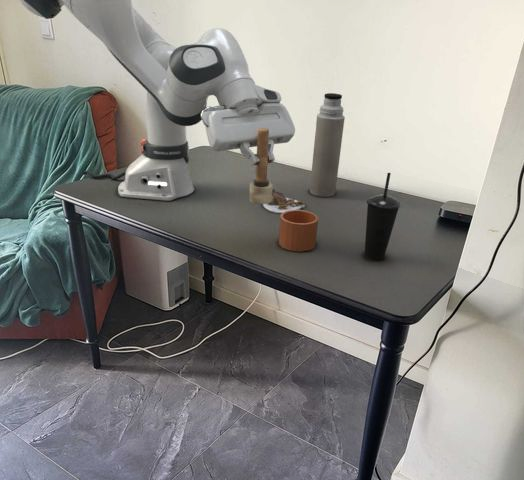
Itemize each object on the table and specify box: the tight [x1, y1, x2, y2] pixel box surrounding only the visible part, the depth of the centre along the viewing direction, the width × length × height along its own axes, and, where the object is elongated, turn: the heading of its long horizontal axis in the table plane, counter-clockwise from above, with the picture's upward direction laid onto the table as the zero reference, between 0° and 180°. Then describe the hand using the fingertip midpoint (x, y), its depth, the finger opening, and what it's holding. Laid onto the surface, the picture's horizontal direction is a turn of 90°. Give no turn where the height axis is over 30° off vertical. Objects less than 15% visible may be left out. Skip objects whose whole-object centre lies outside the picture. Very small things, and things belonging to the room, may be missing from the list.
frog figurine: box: [262, 188, 306, 214], centre depth 149 cm, size 12×12×4 cm
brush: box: [249, 128, 273, 205], centre depth 112 cm, size 5×5×15 cm
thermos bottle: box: [309, 92, 346, 198], centre depth 153 cm, size 8×8×28 cm
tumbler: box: [278, 209, 319, 252], centre depth 127 cm, size 9×9×7 cm
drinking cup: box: [363, 172, 402, 261], centre depth 120 cm, size 8×8×20 cm
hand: (263, 162), depth 111 cm, fingers closed on brush, 2 cm apart
